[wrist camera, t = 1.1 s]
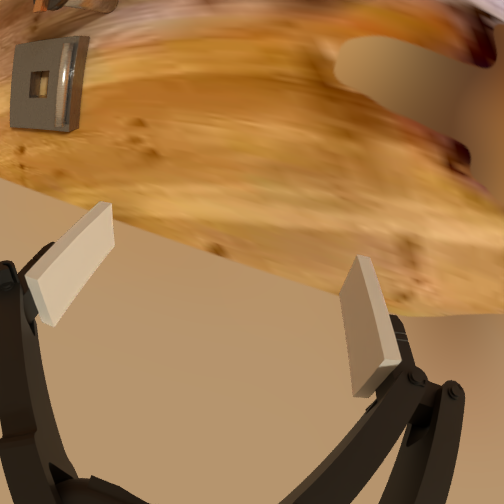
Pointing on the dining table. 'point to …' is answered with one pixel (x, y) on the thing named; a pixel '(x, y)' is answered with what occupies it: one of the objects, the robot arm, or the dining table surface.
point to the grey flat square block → (59, 84)
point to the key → (75, 5)
